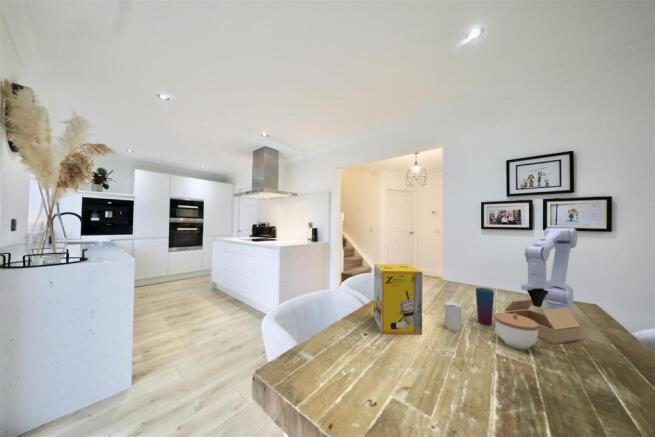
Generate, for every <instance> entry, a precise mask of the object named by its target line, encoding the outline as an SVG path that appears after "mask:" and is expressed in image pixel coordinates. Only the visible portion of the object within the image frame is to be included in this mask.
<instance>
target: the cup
mask: <svg viewBox="0 0 655 437" xmlns="http://www.w3.org/2000/svg"><path fill="white" fill-rule="evenodd" d="M494 294H495V290H494V289H491V288H487V287H481V286H480V287H475V298H476V300H475V301H476V310H477V322H478V323H479V324H480V325H484V326H491V325H492V322H493V310H494Z"/></svg>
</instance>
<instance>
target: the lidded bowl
mask: <svg viewBox="0 0 655 437" xmlns="http://www.w3.org/2000/svg"><path fill="white" fill-rule="evenodd" d="M493 318H494V326H495V331H496V333H497V335H498V336H499V337H500V339H501V340H502V342H503V343H505V344H506V345H508V346H510V347H512V348H515V349H519V350H528V349H529V348H530V347H532V346H534V344H536V342H537V340H538V328H539V325H538V323H537V322H535V321H534V320H532V319H529V318H527V317H524V316H520V315H517V314H515V313H513V314H511V313H505V312H496V313H495V314H494V316H493Z"/></svg>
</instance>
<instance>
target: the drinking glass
mask: <svg viewBox="0 0 655 437" xmlns="http://www.w3.org/2000/svg"><path fill="white" fill-rule="evenodd" d="M443 304H444V305H443V306H444V323H445V328H446V329H448V330H450V331H455V332H459V331H461V330H462V328H461V327H462V313H463V312H462V309H463V304H461V303H459V302H455V301H451V300H450V301H449V300H447V301H444V303H443Z"/></svg>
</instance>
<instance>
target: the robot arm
mask: <svg viewBox="0 0 655 437" xmlns="http://www.w3.org/2000/svg"><path fill="white" fill-rule="evenodd" d="M577 243H578V230H577V229H576V228H574V227H546V228H545V229H544V237H540V238H539V239H538V240H537V241H535V243H534V244H533V245H529V246H526V248H525V250H524V257H525V262H526V263H527V283H524V284H521V287H520V288H521V291H522V290H523V291H526V292H527V293H528V295H529V297H530V299H531V300H532V303H533V305H532V307H535V308H536V307H537V308H542V306H543V303H544V302H545V304H544V305H545V309H544V310H546V309H556V308H568V309H569V311H570V312H571V314H572V315H573V316H574V309H573V307H572V306H571V305H572V303H573V302H574V290H573V288H572V287H571V286H570V285H568V284H567V283H566V279H567V273H568V266H569V260H570V253H571V250H572V249H573V248H576V247H577ZM553 249H554V254H553V255H554V256H553V262H552V268H551V274H550V279H549V280H547V261H548V259H549V256H550V255H551V254H550V253H551V251H553Z"/></svg>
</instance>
